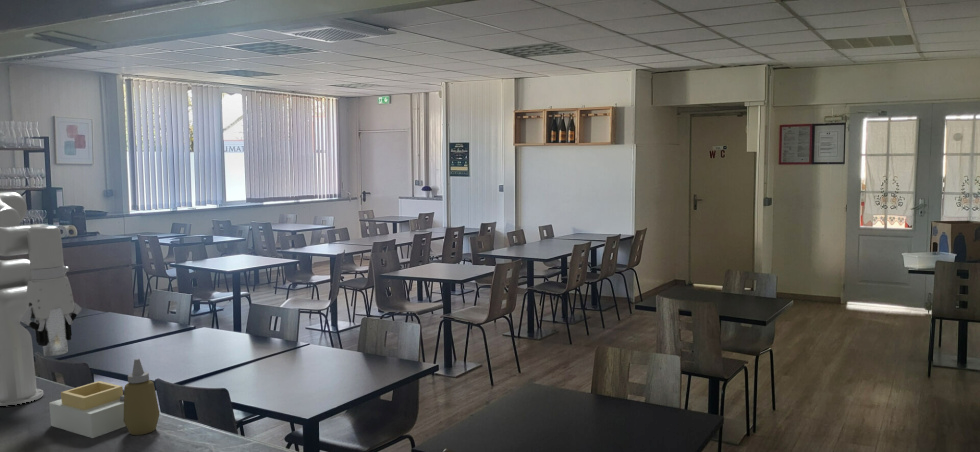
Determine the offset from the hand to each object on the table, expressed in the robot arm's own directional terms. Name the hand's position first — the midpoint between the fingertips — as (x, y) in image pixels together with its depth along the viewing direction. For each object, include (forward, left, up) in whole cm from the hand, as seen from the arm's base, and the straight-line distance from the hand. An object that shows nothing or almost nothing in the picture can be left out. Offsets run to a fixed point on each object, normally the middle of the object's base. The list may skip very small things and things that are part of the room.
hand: (54, 341), depth 193 cm
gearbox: (+15, 0, -20) cm, 25 cm away
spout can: (0, 0, -3) cm, 3 cm away
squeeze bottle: (+31, +3, -20) cm, 37 cm away
